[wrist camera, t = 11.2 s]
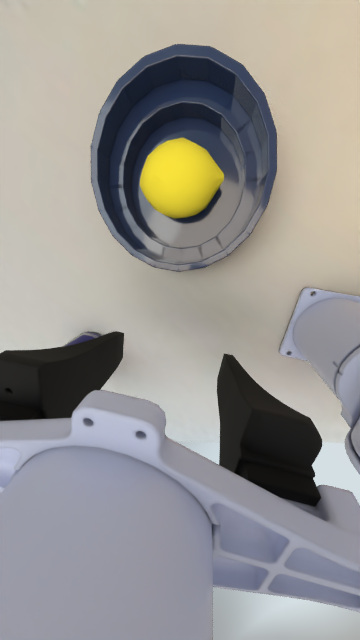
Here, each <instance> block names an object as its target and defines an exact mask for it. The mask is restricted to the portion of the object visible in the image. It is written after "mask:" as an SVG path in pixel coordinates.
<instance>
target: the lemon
mask: <svg viewBox="0 0 360 640" xmlns="http://www.w3.org/2000/svg"><path fill="white" fill-rule="evenodd" d="M223 180H224V173H223V172H222V171H221V169H220V168H219V167H218V165H217V164H216V163H215V161H214V160H213V158H212V157H211V156H210V154H209V153H208V151H207V150H206V149H204V148H202V147H201V146H199V145H197V144H196V143H194V142H191V141H189V140H187V139H185V138H178V139H173V140H168V141H166V142H164V143H162V144H160V145H159V146H157V147H156V148H155V149H154V150H153V151H152V152H151V153H150V154H149V155H148V157H147V159H146V162H145V164H144V167H143V170H142V173H141V178H140V187H141V190H142V192H143V193H144V195H145V197H146V199H147V200H148V202H149V203H150V204H151V205H152V207H153V208H154V209H155V210H156V211H158V212H160V213H162V214H163V215H165V216H168V217H171V218H174V219H175V218H187V217H190V216H193V215H197V214H198V213H199V212H201V211H202V210H204V209H205V208H206V207H207V206H208V204H209V203H210V201H211V199H212V198H213V196H214V195H215V193H216V192H217V190H218V188H219V187H220V185H221V184H222V182H223Z"/></svg>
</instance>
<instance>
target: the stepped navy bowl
mask: <svg viewBox="0 0 360 640" xmlns="http://www.w3.org/2000/svg"><path fill="white" fill-rule="evenodd" d="M178 138H185V139H187V140H189V141H191V142H194V143H196V144H197V145H199V146H201V147H202V148H204V149H206V150H207V151H208V153H209V154H210V156H211V157H212V158H213V160H214V161H215V163H216V164H217V165H218V167H219V168H220V169H221V171H222V172H223V173H224V180H223V182H222V184H221V185H220V187H219V188H218V190H217V192H216V193H215V195H214V196H213V198H212V199H211V201H210V203H209V204H208V206H207V207H206V208H205V209H204V210H202V211H201V212H199V213H198V214H197V215H193V216H190V217H187V218H175V219H174V218H171V217H168V216H165V215H163V214H162V213H160V212H158V211H156V210H155V209H154V208H153V207H152V205H151V204H150V203H149V202H148V200H147V199H146V197H145V195H144V193H143V192H142V190H141V187H140V178H141V173H142V170H143V167H144V164H145V162H146V159H147V157H148V155H149V154H150V153H151V152H152V151H153V150H154V149H155V148H156V147H157V146H159V145H160V144H162V143H164V142H166V141H168V140H173V139H178ZM276 170H277V133H276V128H275V125H274V122H273V118H272V115H271V112H270V109H269V106H268V103H267V99H266V96H265V94H264V92H263V91H262V90H261V88H260V87H259V86H258V84H257V83H256V82H255V80H254V79H253V78H252V76H251V75H250V74H249V72H248V71H247V70H246V68H245V67H244V66H243V65H242V64H241V63H239V62H237V61H236V60H234V59H232V58H231V57H229V56H227V55H225V54H224V53H222V52H220V51H218V50H217V49H215V48H213V47H210V46H199V45H185V44H177V45H176V44H175V45H172V46H170V47H167V48H164V49H162V50H159V51H157V52H154V53H151V54H149V55H146V56H144V57H143V58H141V59H140V60H139V61H138V62H137V63H136V64H135V65H134V66H133V67H132V68H131V69H129V70H128V71H127V72H126V73H125V74H124V75H123V76H122V77H121V78H120V79H119V80H118V82H116V84H115V86H114V87H113V89H112V91H111V93H110V94H109V96H108V98H107V100H106V101H105V103H104V105H103V107H102V109H101V110H100V113H99V115H98V119H97V124H96V128H95V132H94V136H93V140H92V144H91V183H92V186H93V190H94V194H95V198H96V202H97V206H98V209H99V212H100V214H101V216H102V217H103V219H104V221H105V223H106V225H107V226H108V228H109V230H110V232H111V234H112V235H113V237H114V238H115V239H116V240H117V241H118V242H119V243H120V244H121V245H122V246H123V247H124V248H125V249H126V250H127V251H128V252H129V253H130V254H131V255H132V256H134V257H136V258H138V259H140V260H141V261H143V262H145V263H147V264H149V265H151V266H153V267H155V268H160V269H166V270H172V271H177V272H178V271H179V272H180V271H187V270H193V269H200V268H205V267H207V266H209V265H211V264H213V263H215V262H217V261H219V260H221V259H223V258H225V257H227V256H228V255H230V254H231V253H232V252H233V251H234V250H235V249H236V248H237V247H238V246H239V245H240V244H241V243H242V242H243V241H244V240H245V239H246V238H247V237H248V236H250V234H251V233H252V231H253V229H254V228H255V226H256V224H257V223H258V221H259V219H260V217H261V216H262V214H263V212H264V211H265V209H266V207H267V205H268V202H269V198H270V194H271V191H272V187H273V183H274V180H275V176H276V172H277V171H276Z"/></svg>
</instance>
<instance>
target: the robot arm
mask: <svg viewBox="0 0 360 640" xmlns="http://www.w3.org/2000/svg"><path fill="white" fill-rule="evenodd" d="M312 291H314V294H313V295H310V293H311V292H312ZM123 342H124V333H121V332H112V333H108V334H106V335H103V336H100V337H97V338H94V339H91V340H88V341H84V342H81V343H77V344H73V345H69V346H64V347H57V348H51V349H41V350H14V351H10V350H6V351H4V352H2V353H0V640H213V587H216V588H223V589H230V590H238V591H246V592H253V593H261V594H269V595H277V596H285V597H291V598H298V599H304V600H310V601H315V602H320V603H324V604H329V605H334V606H338V607H341V608H345V609H349V610H353V611H356V612H360V505H359V504H358V502H357V500H356V498H355V496H354V495H353V493H352V492H350V491H348V490H344V489H339V488H336V487H332V486H327V485H319V486H317V487H316V484H315V482H314V480H313V477H315V472H314V470H313V468H312V464H313V462H314V461H315V458H316V457H317V455H318V454H319V452H320V450H321V447H322V439H321V436H320V434H319V432H318V431H317V429H316V427H315V425H314V424H313V422H312V420H311V419H310V418H309V417H307V416H305V415H303V414H301V413H299V412H297V411H295V410H293V409H292V408H290V407H288V406H287V405H285V404H283V403H282V402H280V401H279V400H277V399H276V398H274V397H273V396H272V395H270V394H269V393H268V392H267V391H265V390H264V389H263V388H262V387H261V386H260V385H258V384H257V383H256V382H255V381H254V380H253V379H252V378H251V377H250V376H249V374H248V373H247V372H246V371H245V370H244V369H243V367H242V366H241V365H240V364H239V362H238V361H237V360H236V359H235V357H234V356H233V355H228V354H224V356H223V359H222V363H221V367H220V371H219V375H218V380H217V395H218V406H219V416H220V463H219V465H218V464H216V463H214V462H212V461H211V460H209V459H207V458H205V457H203V456H201V455H199V454H198V453H196V452H194V451H192V450H190V449H188V448H186V447H185V446H183V445H181V444H179V443H177V442H175V441H173V440H172V439H170V438H168V437H166V435H165V426H166V417H165V412H164V411H163V410H162V409H161V408H160V407H159V405H157V404H155V403H153V402H150V401H148V400H144V399H139V398H135V397H131V396H126V395H122V394H118V393H114V392H109V391H105V390H100V389H101V388H102V387H103V385H104V384H105V383H106V381H107V380H108V379H109V378H110V376H111V375H112V374H113V372H114V371H115V370H116V368H117V367H118V365H119V363H120V362H121V360H122V358H123ZM288 351H290V353H287V352H288ZM279 352H280V354H281V355H282V356H287V357H291V358H296V359H301V360H306V361H308V362H309V363H310V364H311V366H312V367H313V368H314V369H315V371H316V372H317V373H318V374H319V376H320V377H321V378H322V379H323V381H324V382H325V383H326V384H327V386H328V387H329V388H330V389H331V390H332V392H333V393H334V394H335V395H336V397H337V398H338V399H339V400H340V402H341V404H342V412H341V415H342V417H343V418H344V419H345V421H346V422H347V424H348V425H349V426H350V428H351V429H350V431H349V432H348V434H347V435H346V438H345V449H346V452H347V455H348V456H349V459H350V461H351V463H352V464H353V466H354V467H355V469H356V470H357V471H358V473H359V474H360V296H355V295H349V294H344V293H338V292H332V291H326V290H321V289H315V288H309V287H306V288H304V289H303V290H302V291H301V294H300V297H299V299H298V302H297V305H296V307H295V310H294V313H293V315H292V318H291V320H290V323H289V326H288V328H287V331H286V334H285V336H284V339H283V342H282V344H281V347H280V349H279Z"/></svg>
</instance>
